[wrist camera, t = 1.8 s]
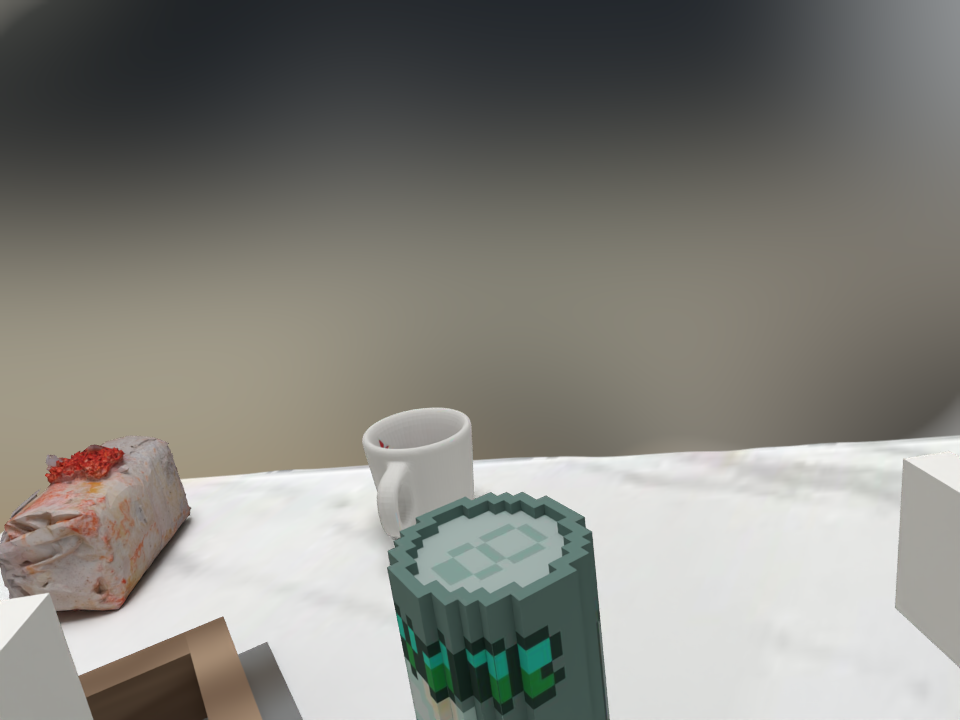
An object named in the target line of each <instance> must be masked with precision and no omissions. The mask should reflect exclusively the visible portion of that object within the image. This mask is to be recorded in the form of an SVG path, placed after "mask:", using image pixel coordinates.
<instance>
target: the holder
mask: <svg viewBox="0 0 960 720" xmlns="http://www.w3.org/2000/svg"><path fill="white" fill-rule="evenodd" d="M78 677H79V680H80V682H81V685H82V688H83V691H84V694H85V697H86V700H87V703H88V705H89V708H90V711H91V714H92V717H93V720H303V719H302V717H301V715H300V713H299V711H298V708H297V706H296V704H295V702H294V700H293V697H292V695H291V693H290V691H289V689H288V686H287V684H286V682H285V680H284V678H283V676H282V673H281V671H280V669H279V667H278V665H277V662H276V660H275V658H274V656H273V654H272V651H271V649H270V647H269V645H268V643H267V642H266V643H264V644H261V645H259V646H257V647H255V648H252V649H250V650H248V651H245V652H243V653H241V654H239V655H238V654H237V651H236V649H235V646H234V643H233V641H232V638H231V636H230V633H229V630H228V628H227V625H226V622H225V620H224V617H221V618H218V619H216V620H213V621H211V622H208V623H206V624H204V625H201V626H199V627H196V628H194V629H191V630H189V631H187V632H184V633H182V634H179V635H177V636H174V637H172V638H170V639H167V640H165V641H162V642H160V643H157V644H155V645H153V646H150V647H148V648H145V649H143V650H140V651H138V652H136V653H133V654H131V655H128V656H126V657H124V658H121V659H119V660H116V661H114V662H111V663H109V664H107V665H104V666H102V667H99V668H97V669H94V670H92V671H90V672H87V673H85V674H82V675H80V676H78Z"/></svg>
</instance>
